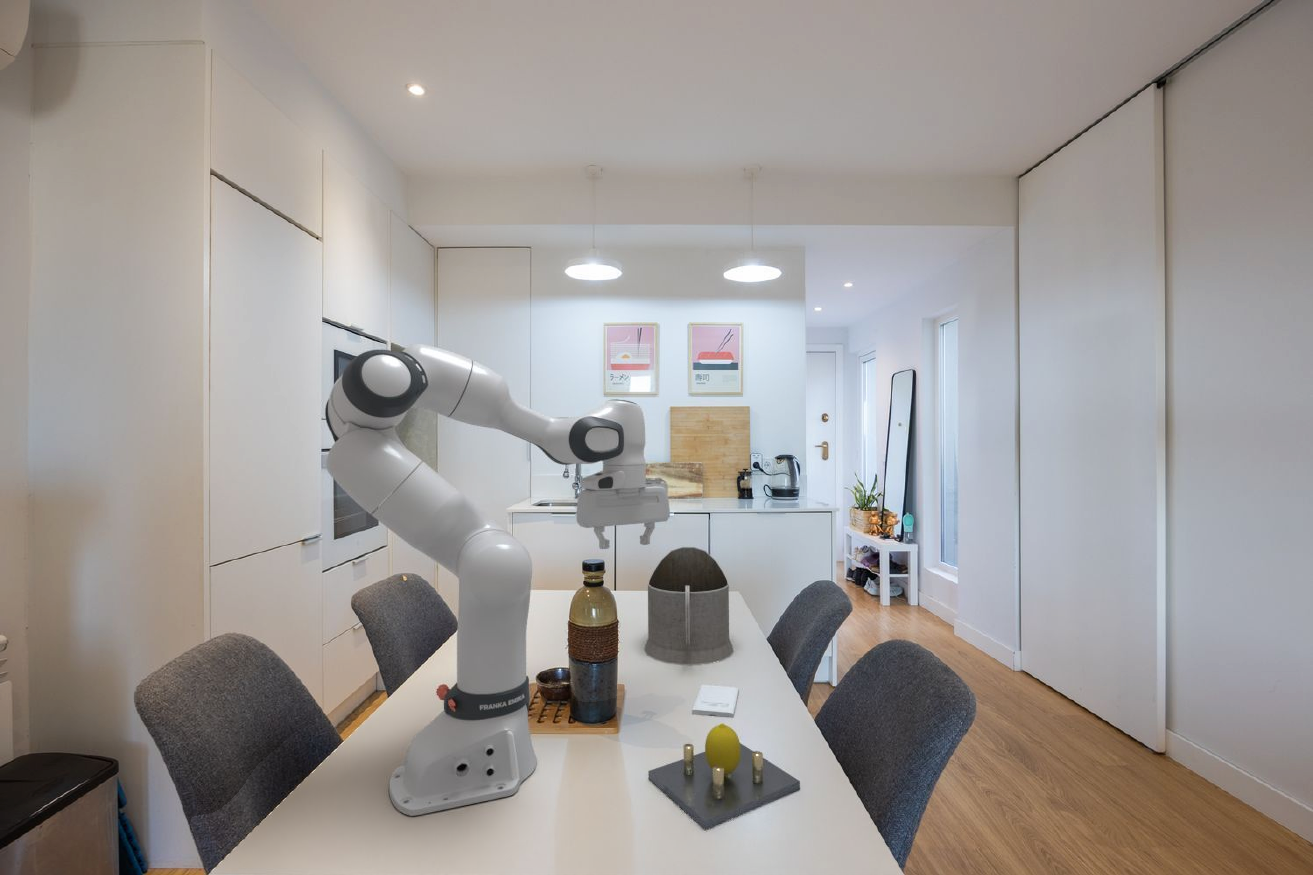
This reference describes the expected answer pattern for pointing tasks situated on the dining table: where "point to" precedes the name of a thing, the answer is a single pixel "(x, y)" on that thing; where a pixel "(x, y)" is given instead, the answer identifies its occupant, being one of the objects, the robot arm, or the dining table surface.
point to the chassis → (722, 785)
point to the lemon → (723, 748)
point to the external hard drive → (716, 701)
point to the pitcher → (688, 609)
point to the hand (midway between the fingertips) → (625, 546)
